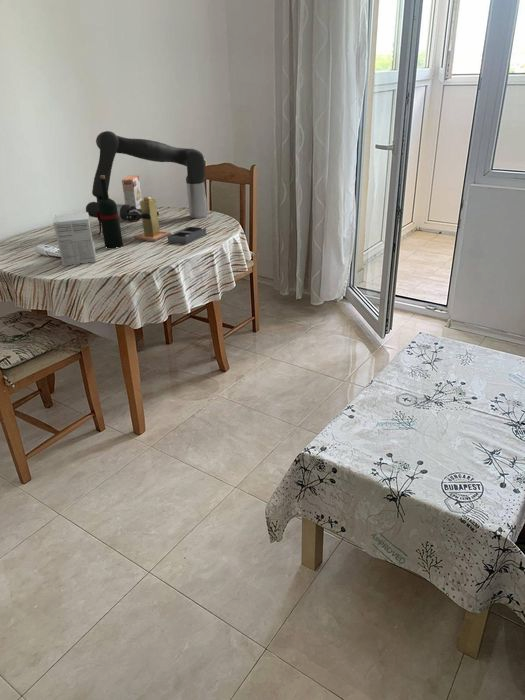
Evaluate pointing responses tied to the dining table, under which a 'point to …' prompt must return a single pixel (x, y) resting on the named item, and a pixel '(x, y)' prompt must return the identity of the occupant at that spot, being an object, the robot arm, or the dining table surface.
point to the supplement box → (75, 238)
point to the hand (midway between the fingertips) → (154, 215)
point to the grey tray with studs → (186, 235)
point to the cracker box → (132, 191)
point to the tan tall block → (151, 224)
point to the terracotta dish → (156, 238)
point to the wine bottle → (109, 219)
